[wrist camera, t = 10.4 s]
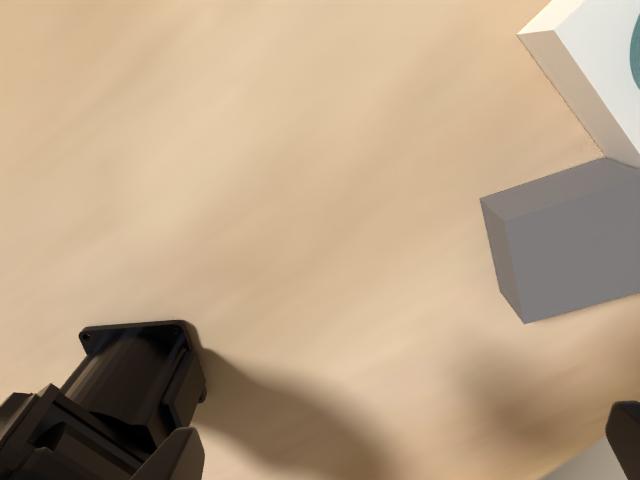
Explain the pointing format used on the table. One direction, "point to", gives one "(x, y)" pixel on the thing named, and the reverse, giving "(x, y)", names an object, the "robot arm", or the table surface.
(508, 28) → the table surface
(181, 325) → the robot arm
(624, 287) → the grey square block
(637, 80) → the canister
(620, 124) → the pale block
